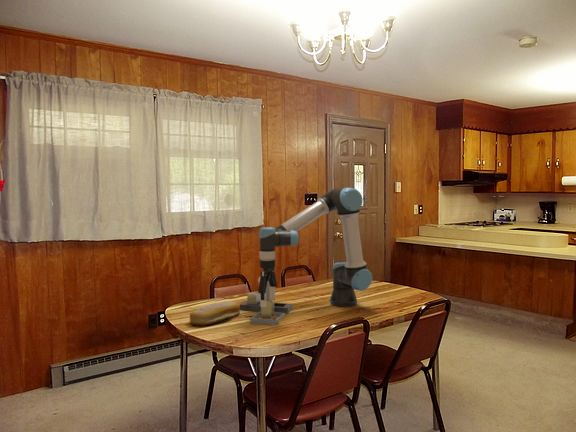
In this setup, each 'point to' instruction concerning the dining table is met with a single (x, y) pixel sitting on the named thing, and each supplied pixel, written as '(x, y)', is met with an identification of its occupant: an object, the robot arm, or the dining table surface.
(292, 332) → the dining table surface
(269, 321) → the parts tray
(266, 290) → the coffee cup
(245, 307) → the grey slotted holder
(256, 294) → the grey rectangular block
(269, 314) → the tan rectangular block
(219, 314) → the bread
